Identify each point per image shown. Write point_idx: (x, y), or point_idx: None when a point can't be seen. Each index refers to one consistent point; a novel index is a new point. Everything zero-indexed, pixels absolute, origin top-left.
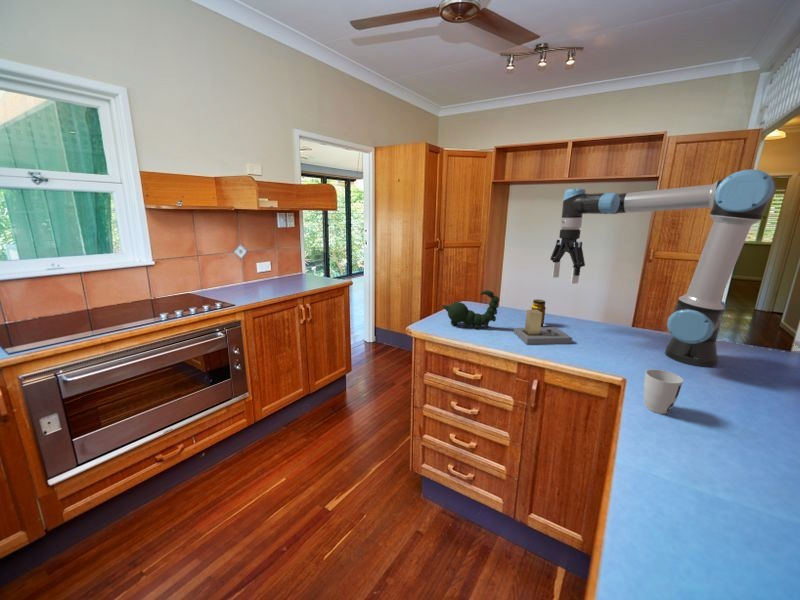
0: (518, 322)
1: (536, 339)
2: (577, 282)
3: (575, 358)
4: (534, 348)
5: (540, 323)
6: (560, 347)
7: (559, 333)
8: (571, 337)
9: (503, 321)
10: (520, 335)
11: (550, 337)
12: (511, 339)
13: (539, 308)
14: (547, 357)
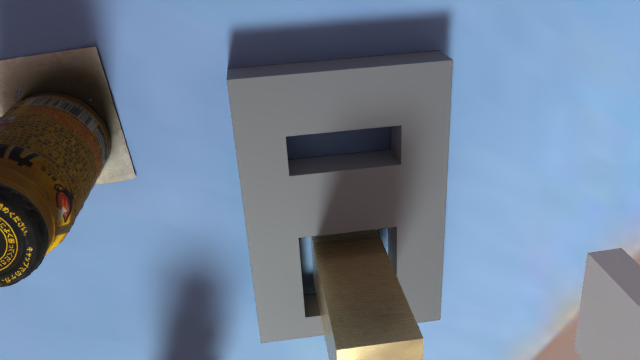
0: None
1: (440, 273)
2: (628, 267)
3: (632, 131)
4: (482, 277)
5: (400, 288)
6: (487, 145)
7: (366, 111)
8: (447, 63)
9: (22, 329)
10: None
11: (433, 197)
12: None
13: (70, 219)
14: None
